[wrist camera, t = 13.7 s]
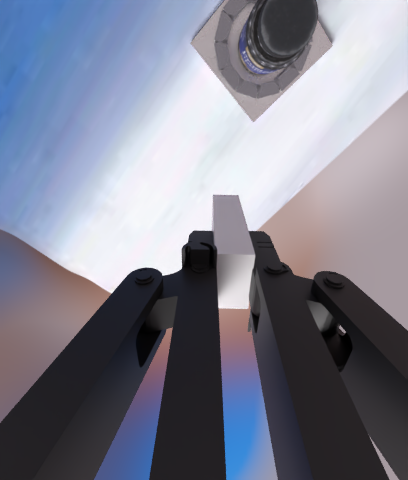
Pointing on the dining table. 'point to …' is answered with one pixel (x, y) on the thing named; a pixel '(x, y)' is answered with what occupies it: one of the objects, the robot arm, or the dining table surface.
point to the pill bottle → (276, 34)
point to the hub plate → (231, 68)
